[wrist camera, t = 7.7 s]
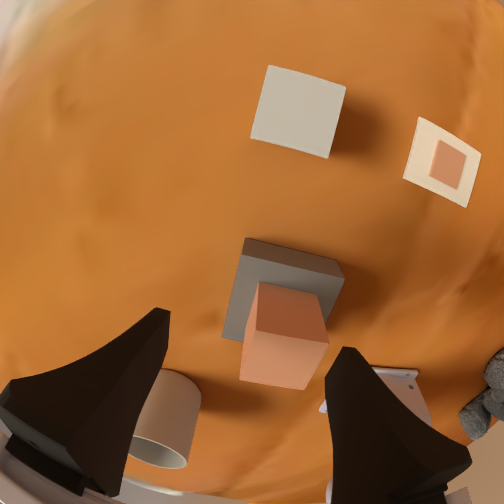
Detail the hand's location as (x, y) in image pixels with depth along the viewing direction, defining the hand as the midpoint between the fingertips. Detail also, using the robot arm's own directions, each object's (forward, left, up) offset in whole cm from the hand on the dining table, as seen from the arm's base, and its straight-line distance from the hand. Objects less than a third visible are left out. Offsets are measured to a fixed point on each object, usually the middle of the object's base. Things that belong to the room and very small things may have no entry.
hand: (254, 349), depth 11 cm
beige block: (0, -10, -11) cm, 14 cm away
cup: (+7, +18, -11) cm, 22 cm away
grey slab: (-2, +3, -11) cm, 11 cm away
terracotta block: (-2, +3, -8) cm, 8 cm away
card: (-12, -11, -11) cm, 19 cm away
